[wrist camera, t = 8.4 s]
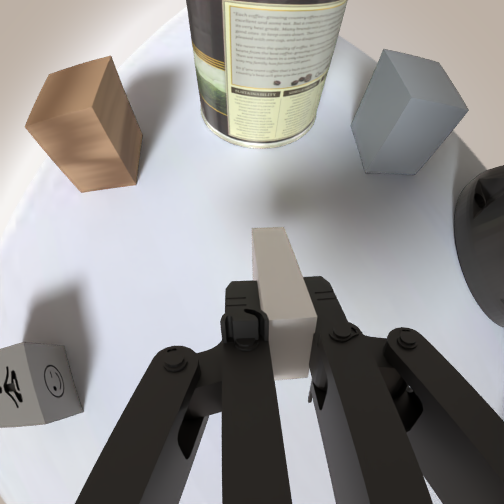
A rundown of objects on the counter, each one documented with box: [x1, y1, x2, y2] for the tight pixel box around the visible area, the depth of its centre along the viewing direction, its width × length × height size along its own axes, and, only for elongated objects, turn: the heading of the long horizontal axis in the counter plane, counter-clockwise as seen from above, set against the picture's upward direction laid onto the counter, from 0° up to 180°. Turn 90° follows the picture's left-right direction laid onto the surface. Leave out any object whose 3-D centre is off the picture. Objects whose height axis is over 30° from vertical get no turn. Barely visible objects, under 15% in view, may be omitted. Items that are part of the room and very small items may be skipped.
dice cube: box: [0, 342, 83, 428], centre depth 15 cm, size 5×5×5 cm
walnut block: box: [25, 56, 143, 193], centre depth 18 cm, size 5×5×9 cm
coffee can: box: [186, 0, 348, 149], centre depth 18 cm, size 10×10×14 cm
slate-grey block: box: [351, 49, 468, 175], centre depth 20 cm, size 5×5×9 cm
